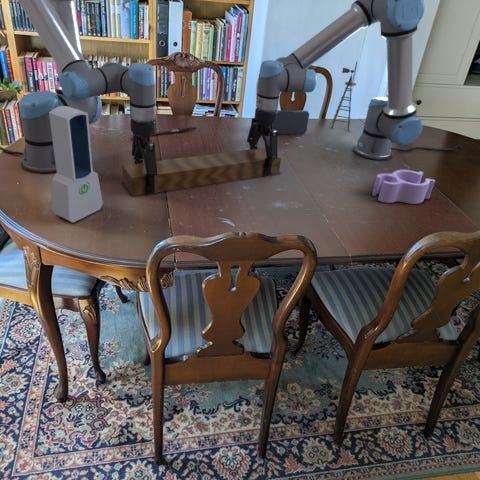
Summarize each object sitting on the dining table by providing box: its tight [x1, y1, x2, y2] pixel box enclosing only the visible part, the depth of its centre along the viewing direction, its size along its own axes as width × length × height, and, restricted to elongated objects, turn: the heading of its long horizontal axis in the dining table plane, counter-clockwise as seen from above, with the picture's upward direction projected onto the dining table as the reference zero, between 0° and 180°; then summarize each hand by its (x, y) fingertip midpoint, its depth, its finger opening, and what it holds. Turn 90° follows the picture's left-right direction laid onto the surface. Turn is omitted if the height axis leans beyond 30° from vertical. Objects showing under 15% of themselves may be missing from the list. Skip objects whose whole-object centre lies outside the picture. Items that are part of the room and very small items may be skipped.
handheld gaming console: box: [273, 109, 310, 135], centre depth 204 cm, size 23×3×10 cm, turn 108°
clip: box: [371, 169, 436, 205], centre depth 162 cm, size 20×12×7 cm, turn 109°
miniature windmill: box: [331, 61, 358, 131], centre depth 214 cm, size 9×8×30 cm
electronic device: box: [49, 106, 104, 224], centre depth 127 cm, size 12×8×30 cm, turn 148°
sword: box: [130, 126, 197, 141], centre depth 193 cm, size 31×3×1 cm, turn 126°
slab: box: [121, 147, 282, 197], centre depth 160 cm, size 55×10×6 cm, turn 119°
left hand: (144, 185), depth 152 cm, fingers closed on slab, 10 cm apart
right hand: (259, 168), depth 171 cm, fingers closed on slab, 10 cm apart
